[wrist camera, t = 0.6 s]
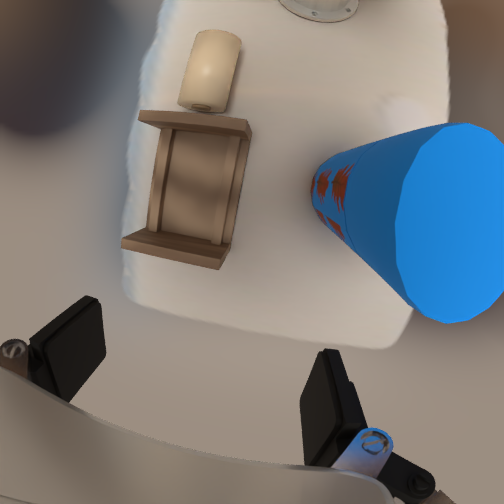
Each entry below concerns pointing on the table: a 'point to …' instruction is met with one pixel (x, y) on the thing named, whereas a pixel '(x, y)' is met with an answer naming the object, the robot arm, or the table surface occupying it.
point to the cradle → (193, 187)
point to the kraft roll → (210, 71)
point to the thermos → (423, 215)
